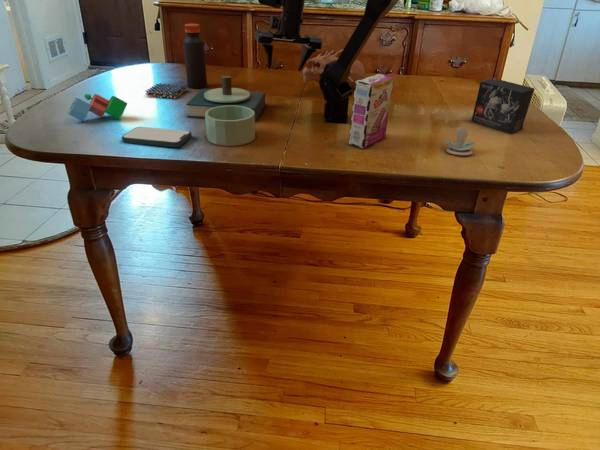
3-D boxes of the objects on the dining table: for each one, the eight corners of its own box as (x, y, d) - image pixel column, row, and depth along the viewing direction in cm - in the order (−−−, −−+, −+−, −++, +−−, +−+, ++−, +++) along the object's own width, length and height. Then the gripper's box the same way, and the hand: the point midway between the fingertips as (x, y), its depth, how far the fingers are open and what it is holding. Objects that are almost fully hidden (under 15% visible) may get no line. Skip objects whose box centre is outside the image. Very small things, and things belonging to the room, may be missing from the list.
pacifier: (475, 158, 113) (470, 148, 118) (481, 134, 110) (476, 125, 115) (445, 156, 114) (442, 146, 119) (450, 132, 111) (447, 123, 116)
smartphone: (120, 143, 115) (178, 149, 112) (119, 137, 114) (178, 143, 111) (138, 131, 123) (193, 136, 120) (137, 125, 122) (193, 130, 119)
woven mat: (176, 99, 146) (175, 93, 145) (144, 97, 147) (143, 90, 146) (188, 90, 155) (187, 84, 154) (158, 88, 156) (157, 82, 155)
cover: (250, 91, 142) (250, 71, 139) (249, 105, 131) (248, 83, 128) (207, 91, 141) (205, 70, 138) (201, 104, 130) (199, 82, 127)
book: (265, 105, 144) (265, 92, 142) (255, 121, 131) (255, 108, 129) (203, 101, 146) (202, 88, 144) (187, 117, 132) (186, 103, 130)
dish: (243, 125, 128) (242, 102, 124) (263, 141, 119) (262, 116, 115) (200, 132, 122) (198, 108, 119) (217, 149, 113) (215, 124, 110)
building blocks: (109, 135, 131) (66, 114, 125) (119, 112, 134) (78, 90, 128) (117, 126, 125) (73, 103, 119) (128, 102, 128) (85, 78, 122)
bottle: (188, 89, 156) (182, 26, 146) (186, 84, 162) (180, 23, 151) (208, 88, 158) (203, 26, 147) (206, 83, 163) (201, 22, 153)
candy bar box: (364, 150, 116) (371, 84, 107) (347, 144, 118) (353, 80, 109) (386, 138, 123) (395, 76, 114) (370, 133, 126) (378, 72, 117)
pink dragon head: (370, 48, 159) (336, 44, 139) (369, 93, 164) (336, 95, 143) (336, 51, 166) (299, 47, 146) (336, 93, 170) (301, 95, 150)
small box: (470, 121, 137) (479, 80, 130) (482, 116, 140) (492, 77, 134) (511, 134, 128) (523, 91, 122) (523, 129, 132) (535, 87, 126)
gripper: (315, 11, 135) (306, 64, 144) (253, 2, 129) (248, 59, 138) (327, 19, 127) (317, 75, 135) (262, 10, 121) (255, 69, 129)
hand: (284, 69), depth 134 cm, fingers open, 9 cm apart
